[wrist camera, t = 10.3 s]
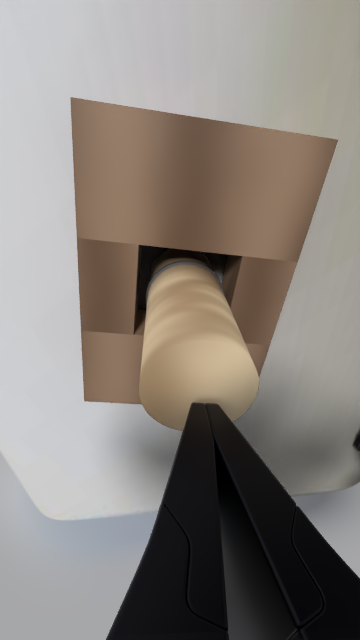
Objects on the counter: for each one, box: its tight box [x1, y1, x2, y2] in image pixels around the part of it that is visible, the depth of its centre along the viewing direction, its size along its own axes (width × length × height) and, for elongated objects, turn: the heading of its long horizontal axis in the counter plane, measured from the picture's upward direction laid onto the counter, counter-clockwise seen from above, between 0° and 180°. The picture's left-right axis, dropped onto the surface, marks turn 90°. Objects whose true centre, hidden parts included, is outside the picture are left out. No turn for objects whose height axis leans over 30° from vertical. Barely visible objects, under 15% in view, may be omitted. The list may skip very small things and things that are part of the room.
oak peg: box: [139, 248, 259, 431], centre depth 14 cm, size 4×4×10 cm
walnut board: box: [71, 97, 338, 404], centre depth 17 cm, size 11×16×3 cm
